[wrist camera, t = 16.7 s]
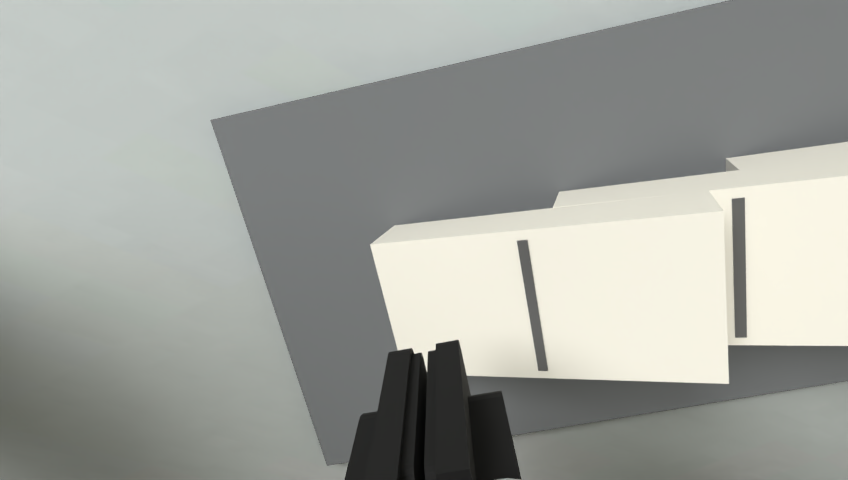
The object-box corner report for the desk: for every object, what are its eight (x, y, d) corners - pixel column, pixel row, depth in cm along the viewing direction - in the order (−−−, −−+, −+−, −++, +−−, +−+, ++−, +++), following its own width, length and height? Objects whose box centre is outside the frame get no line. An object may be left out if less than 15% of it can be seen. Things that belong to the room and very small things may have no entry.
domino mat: (329, 456, 21) (327, 465, 20) (216, 119, 17) (210, 119, 16) (1058, 337, 18) (1075, 344, 18) (1142, -95, 14) (1169, -101, 14)
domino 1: (403, 374, 17) (729, 385, 13) (369, 244, 15) (724, 211, 11) (423, 343, 19) (714, 343, 15) (394, 225, 17) (708, 190, 13)
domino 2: (571, 344, 16) (966, 348, 12) (552, 207, 15) (992, 160, 11) (575, 315, 18) (921, 309, 14) (559, 191, 17) (937, 145, 13)
